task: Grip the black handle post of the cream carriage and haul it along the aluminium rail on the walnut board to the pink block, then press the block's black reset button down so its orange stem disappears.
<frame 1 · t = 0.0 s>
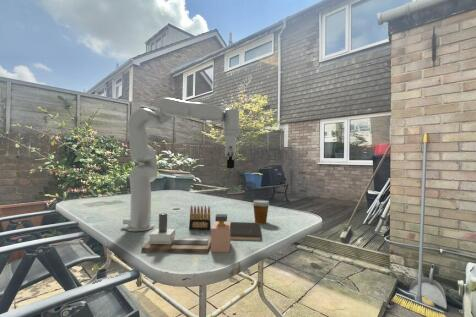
hand: (230, 167, 119), 31 cm above the table, tool pointing down, fingers open, 9 cm apart
hardcover book: (243, 233, 116), on the table
reset button: (221, 222, 95), point 10 cm above the table, slide at 0.0 cm
ammunition clip: (199, 229, 119), on the table
disposable coffee cup: (260, 222, 135), on the table
rail bed: (178, 246, 95), on the table
carriage: (162, 228, 95), point 7 cm above the table, slide at -7.0 cm
pink block: (220, 247, 95), on the table
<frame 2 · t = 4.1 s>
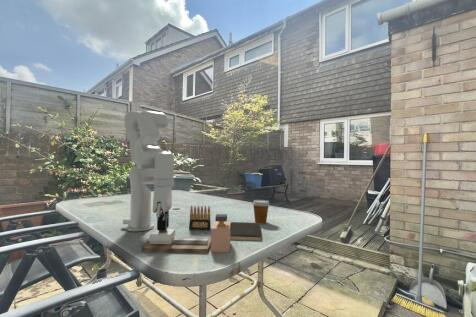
hand: (162, 228, 95), 7 cm above the table, tool pointing down, fingers closed on carriage, 3 cm apart
carriage: (162, 228, 95), point 7 cm above the table, slide at -7.0 cm, touching gripper
everything else where it was.
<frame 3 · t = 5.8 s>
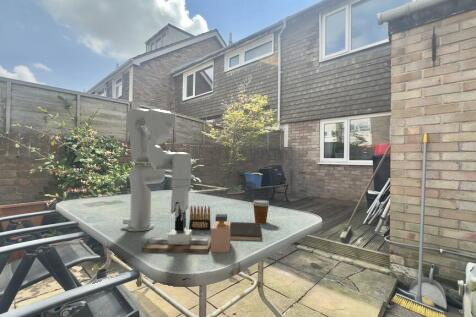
hand: (180, 228, 95), 7 cm above the table, tool pointing down, fingers closed on carriage, 3 cm apart
carriage: (180, 228, 95), point 7 cm above the table, slide at 0.1 cm, touching gripper
everything else where it was.
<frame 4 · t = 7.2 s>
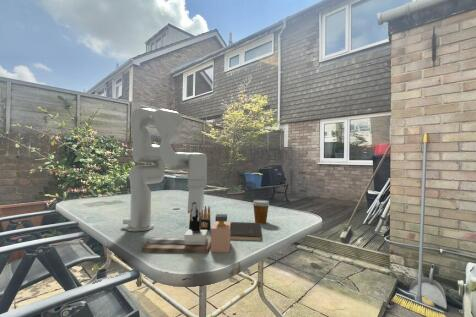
hand: (196, 228, 95), 7 cm above the table, tool pointing down, fingers closed on carriage, 3 cm apart
carriage: (196, 228, 95), point 7 cm above the table, slide at 6.5 cm, touching gripper
everything else where it was.
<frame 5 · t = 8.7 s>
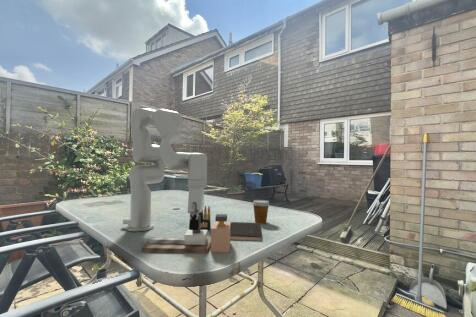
hand: (196, 226, 95), 8 cm above the table, tool pointing down, fingers open, 9 cm apart
carriage: (196, 228, 95), point 7 cm above the table, slide at 6.5 cm
everything else where it was.
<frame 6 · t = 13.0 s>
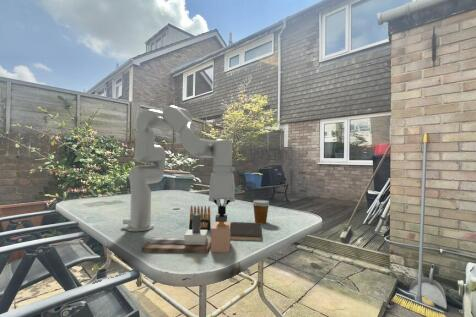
hand: (221, 215, 95), 13 cm above the table, tool pointing down, fingers closed
reset button: (221, 222, 95), point 10 cm above the table, slide at 0.2 cm, touching gripper
everything else where it was.
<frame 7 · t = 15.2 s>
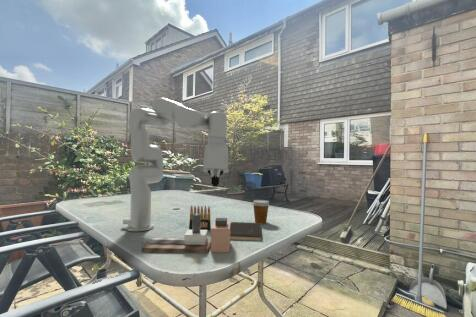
hand: (215, 186, 99), 24 cm above the table, tool pointing down, fingers closed
reset button: (221, 226, 95), point 9 cm above the table, slide at 1.5 cm
everything else where it was.
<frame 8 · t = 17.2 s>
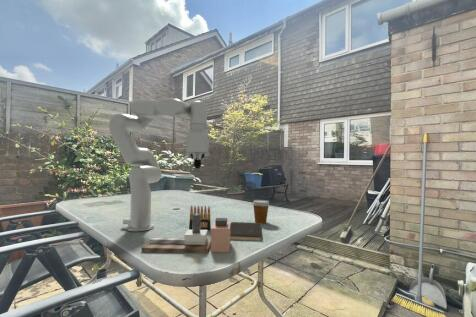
hand: (197, 168, 110), 31 cm above the table, tool pointing down, fingers closed
nothing on the table moved.
at the end: carriage slide at 6.5 cm; reset button slide at 1.5 cm; the gripper is holding nothing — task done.
